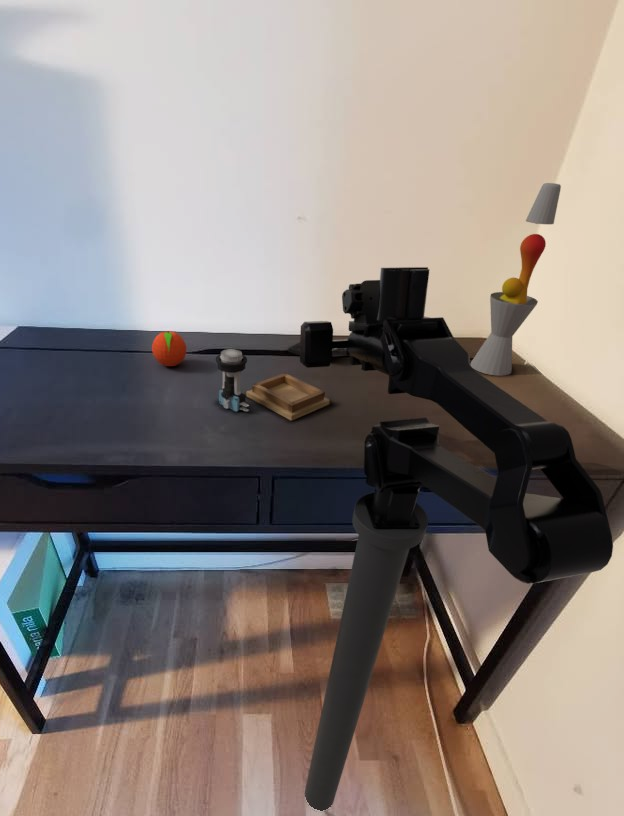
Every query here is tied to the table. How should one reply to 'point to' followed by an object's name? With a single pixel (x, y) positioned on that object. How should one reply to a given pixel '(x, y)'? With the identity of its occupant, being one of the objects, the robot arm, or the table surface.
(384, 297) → the robot arm
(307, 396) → the base pad
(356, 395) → the table surface
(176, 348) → the clementine
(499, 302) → the lava lamp
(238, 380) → the push button
